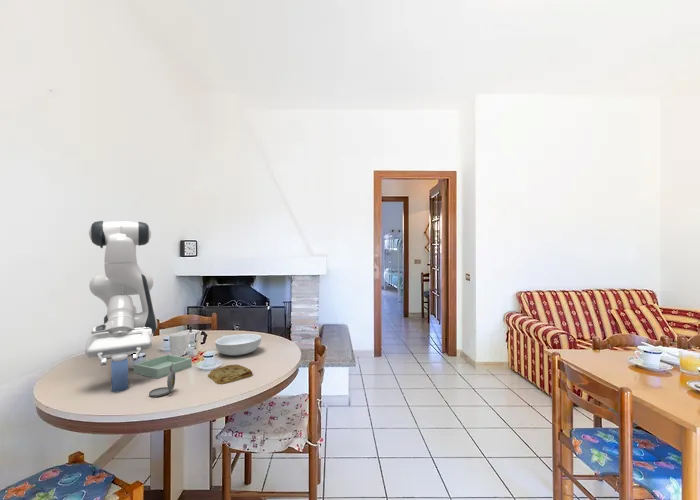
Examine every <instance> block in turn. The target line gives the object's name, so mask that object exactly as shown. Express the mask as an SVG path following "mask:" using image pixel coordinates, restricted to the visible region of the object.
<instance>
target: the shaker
mask: <svg viewBox="0 0 700 500" xmlns="http://www.w3.org/2000/svg"><path fill="white" fill-rule="evenodd" d="M110 367H111V368H110V369H111V370H110V372H111V373H110V374H111V377H110V378H111V379H110V380H111V383H110V385H111V388H110V389H111V392H112V393H120V392H124V391H126V390H128V389H129V358H128V356H127V354H126V353H122V354H116V355H113V356H112V358H111V361H110Z"/></svg>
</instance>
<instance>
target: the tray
mask: <svg viewBox="0 0 700 500" xmlns="http://www.w3.org/2000/svg"><path fill="white" fill-rule="evenodd" d="M172 363H173V365H171V364H172ZM170 366H172V370H174V371H175V373H177V372H180V371H183V370H186V369H189V368H192V367H193V365H192V358H191V357H185V356H181V357H180V356H174V355H171V354H170V353H169V354H165V355H161V356H159V357H158V356H157V357H155V358H151V359H148V360H145V361H142V362H138V363H134V364H133V374H136V375H141V376H144V377H149V378H153V379H162V378H164V377H166V376H167V377H168V374H169V372H170Z"/></svg>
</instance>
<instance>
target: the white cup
mask: <svg viewBox="0 0 700 500" xmlns="http://www.w3.org/2000/svg"><path fill="white" fill-rule="evenodd" d="M168 335H169V350H170V355H174V356H181V357H183V356H182V355H183V354H184V351H185V350H186V348H187V349H188V341H189V340H188V338H189V333H188V332H186V331H179V332H173V333H170V334H168Z"/></svg>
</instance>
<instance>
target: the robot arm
mask: <svg viewBox="0 0 700 500" xmlns="http://www.w3.org/2000/svg"><path fill="white" fill-rule="evenodd" d="M88 236H89V238H90V239H89V240H91V243H92V244H93V245H95V246H97V247H100V249H103V248H104V246H105V251H104V260H103V261H104V265H103V266H104V273H103V274H98V275H95V276H93V277H92V278H91V280H90V281H89V286H88V287H89V291H90V292H91V294H93V296H95V297H96V298H98V299H100V300H101V301H102V302H103V303H104V304H105V306H106V308H107V311H106V315H105V316H104V317H103V323H102V324H98V325H96V326H94V327H92V328H91V332H90V333H91V334H89V336H88V337H87V341H86V344H85V350H84V353H85V356H87V358H93V357H94V358H95V357H97V359H98V360H99V361H100V366H101V367H102V366H106V365H107V359H112V356H113V355H116V354H122V353H126V354H127V357H128V356H132V361H133V362H136V361H138V359H139V356H140V354H141V353H142V351H144V350H150V349H151V347H152V346H153V345H152V344H153V341H152V335H153V334H154V333H155V332H156V331H157V329H158V319H157V316H156V314H155V312H154V307H153V301H152V297H151V293H150V292H151V290H152V289H153V286H154V279H153V277H152V275H151V274H149V273H148V272H146V271H144V270H143V269H142V268H141V267H140V266H139V264H138V261H137V246H139V247H140V246H145V245H147V244H149V241H150V239H151V237H152V232H151V228H150V226H149V225H148V224H147V222H143V221H130V220H106V221H104V220H98V221H94V222H93V223H92V224H91V225H90V227H89V230H88ZM137 295H138V296H139V300H140V304H141V309H142V311H141V312H138V313H137V308H136V306H135V305H134V302H133V298H132V296H137ZM135 352H137V353H136V354H133V353H135ZM131 354H133V355H131Z"/></svg>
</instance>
